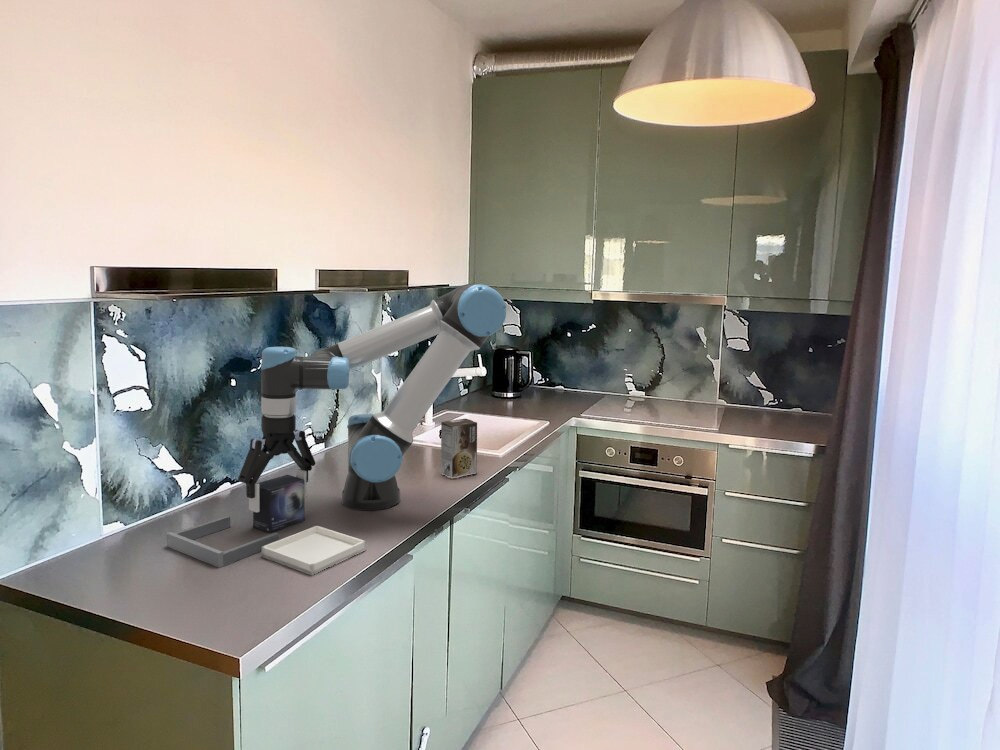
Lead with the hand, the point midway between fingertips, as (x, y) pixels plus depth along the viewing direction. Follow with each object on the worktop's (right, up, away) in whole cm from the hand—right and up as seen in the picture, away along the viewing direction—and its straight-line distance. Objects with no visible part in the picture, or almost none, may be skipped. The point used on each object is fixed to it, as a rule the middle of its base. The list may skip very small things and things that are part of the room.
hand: (278, 503), depth 163 cm
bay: (-8, -7, -12) cm, 16 cm away
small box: (0, -5, +1) cm, 6 cm away
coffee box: (+40, 0, +44) cm, 59 cm away
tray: (+12, -8, -15) cm, 21 cm away
